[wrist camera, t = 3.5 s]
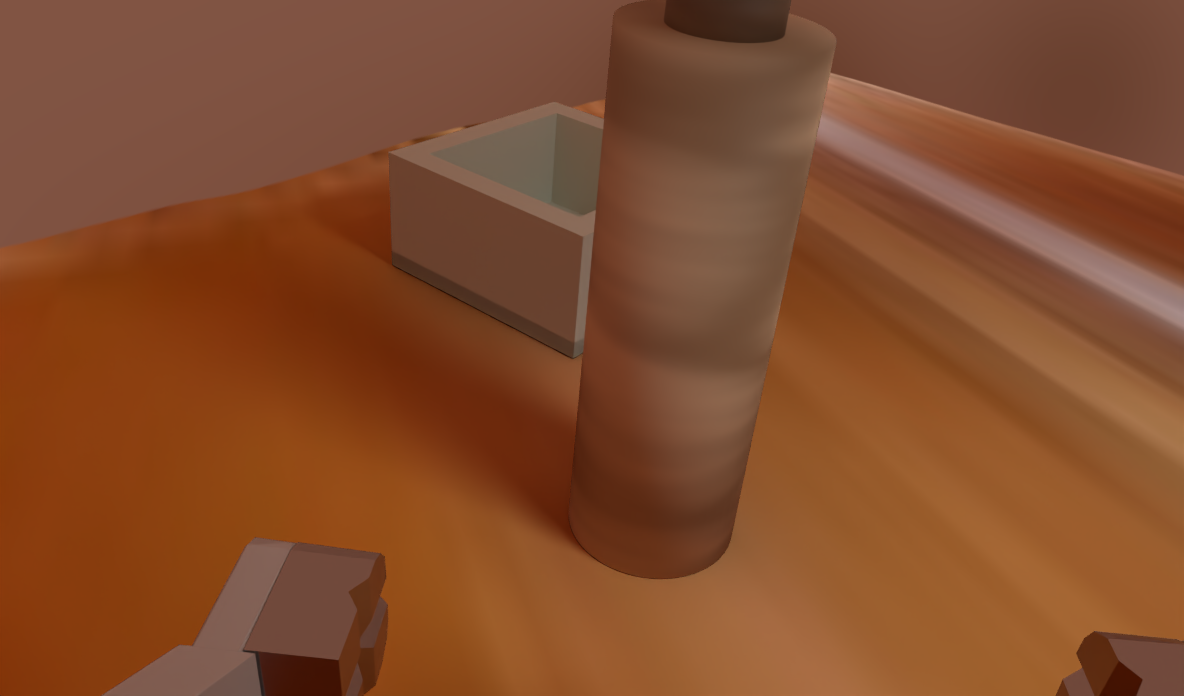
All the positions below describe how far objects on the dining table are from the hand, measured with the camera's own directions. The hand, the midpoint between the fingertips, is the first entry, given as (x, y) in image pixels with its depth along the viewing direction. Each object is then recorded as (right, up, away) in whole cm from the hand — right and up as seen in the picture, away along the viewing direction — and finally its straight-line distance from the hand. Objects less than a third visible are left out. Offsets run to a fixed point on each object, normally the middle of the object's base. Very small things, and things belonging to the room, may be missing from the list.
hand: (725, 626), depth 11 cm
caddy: (-3, +6, +26) cm, 27 cm away
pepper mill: (0, -1, +15) cm, 15 cm away
